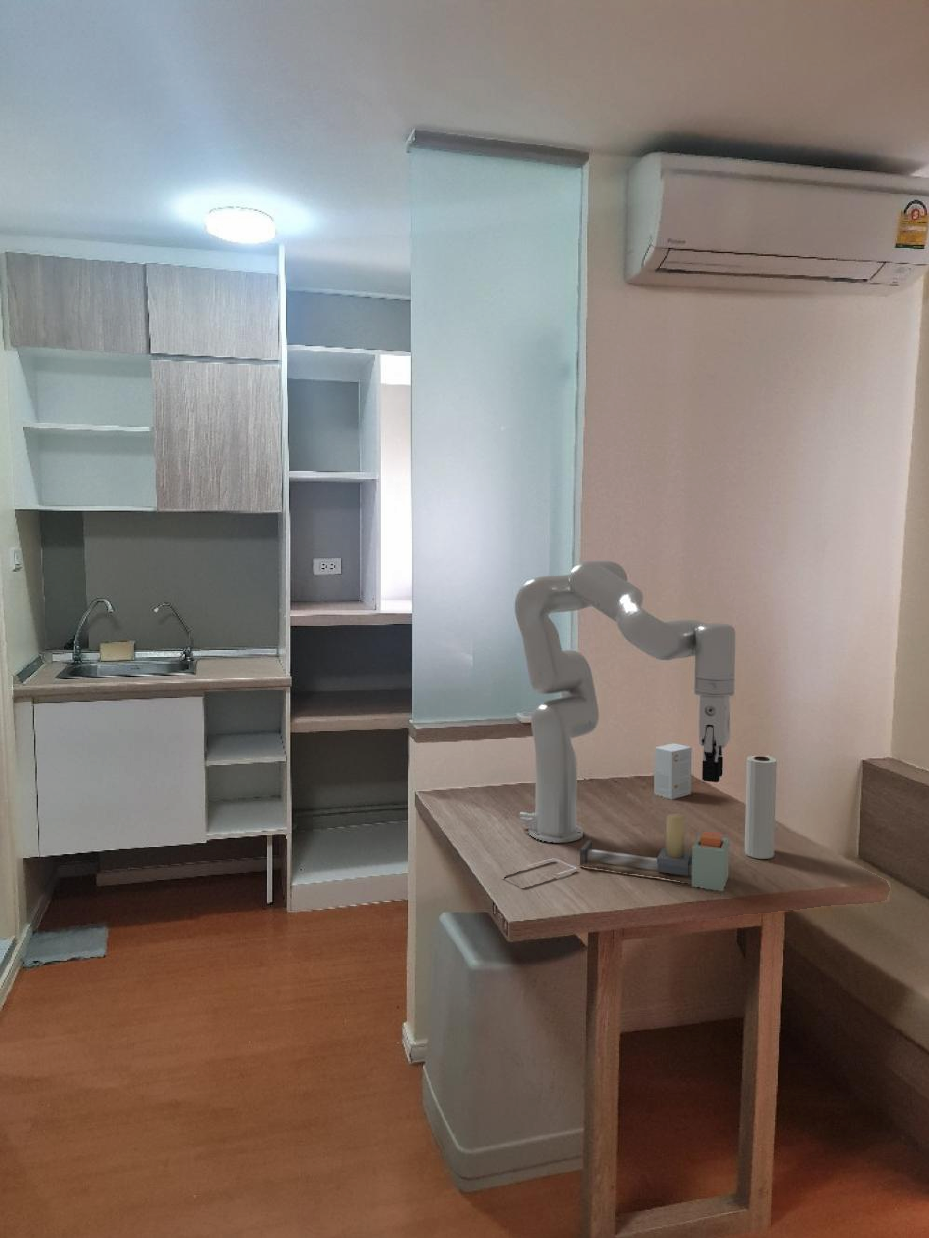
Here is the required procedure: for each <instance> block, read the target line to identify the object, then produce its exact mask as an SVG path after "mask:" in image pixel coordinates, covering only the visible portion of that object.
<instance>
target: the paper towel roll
mask: <svg viewBox="0 0 929 1238" xmlns="http://www.w3.org/2000/svg"><path fill="white" fill-rule="evenodd" d="M777 762H778V761H777V759H776V758H775V757H773V756H770V755H769V754H766V756H765V755H751V756H747V758H746V778H745V779H746V786H745V788H746V789H745V824H744V825H745V828H744V853H745V855H746V856H748V857H750V858H753V859H758V860H759V859H761V860H765V859H766V860H767V859H771V858H773V857H774V856H775V835H776V834H775V833H776V832H775V831H776V807H777V806H776V805H777V804H776V801H777V800H776V798H777V764H778V763H777Z"/></svg>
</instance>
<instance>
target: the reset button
mask: <svg viewBox="0 0 929 1238" xmlns="http://www.w3.org/2000/svg"><path fill="white" fill-rule="evenodd" d="M700 835H701V837H700V845H703V846H710V847H718V848H721V844H722V838H723V836H722V835H723V833H716V832H710V831H709V832H708V831H702V833H701V834H700Z"/></svg>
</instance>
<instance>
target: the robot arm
mask: <svg viewBox="0 0 929 1238" xmlns="http://www.w3.org/2000/svg"><path fill="white" fill-rule="evenodd" d="M643 597H644V595H643V592H642V591H641V589H640V588H639V587H637V586H636V585H634V584H632V583H631V582H629V581H628V576H627V572H626V570H625V569H624V568H623V566H622V565H620V564H619V563H617V562H615V561H611V560H591V561H583V562H580V563H578V564H576V565H575V566H574V567H573V568H572V569H571V571H570V572H569V574H568V575H567V574H566V575H543V576H538V577H533V578H531V579H529V580H527V581H526V582H524V583H523V585H522V586H520V588H519V590H518V591H517V594H516V597H515V600H514V613H515V619H516V622H517V626H518V628H519V631H520V634H521V638H522V643H523V651H524V655H525V660H526V661H525V662H526V666H527V673H528V676H529V681H530V682H529V683H530V684H531V687H532V689H533V691H535V692H536V693H538V694H540V695H552V694H553V695H554V694H559V693H561V697H559V698H555V699H551V700H550V699H549V700H546V701H544V702H542V703H540V704H539V705H538V706H537V707H536V708H535V709H534V710H533V712H532V715H531V718H530V723H531V724H530V725H531V726H530V727H531V731H532V735H533V741H534V753H535V756H534V759H535V760H534V761H535V764H534V765H535V767H534V768H535V807H534V808H535V812H533V811H532V813H530V812H529V813H528V812H527V811H526V812H525V811H520V812H519V813H518V819H519V820H520V823H522V824H529V825H530V826H529V827H528V835H529V836H530V835H531V836H532V837H534V838H536V839H535V840H537V839H539V840H538V841H540V840H542V841H541V842H544V841H547V842H546V843H551V842H553V843H554V844H565V843H572V842H575V841H578V840H580V839H581V838H582V837H583V836H584V830H583V828H582V827H581V826H579V825H577V817H578V816H577V792H578V789H577V788H578V787H577V786H578V785H577V784H578V780H577V779H578V778H577V777H578V774H577V773H578V771H577V770H578V767H577V766H578V761H577V754H576V752H575V749H574V746H573V744H572V741H571V739H574V738H577V737H583V736H585V735H587V734H590V733H592V732H593V731H594V730H595V729H596V728H597V725H598V724H599V718H600V717H599V716H600V712H599V704H598V699H597V695H596V690H595V684H594V680H593V679H594V678H593V674H592V670H591V666H590V665H589V662H588V660H587V659H586V658H585V656H584V655H583V654H581V653H580V652H578V651H577V650H572V649H567V650H566V649H565V650H563V648H562V645H561V639H560V634H559V632H558V629H557V627H556V625H555V623H554V622H553V620H552V619H551V618H550V616H549V615H550V614H552V613H566V612H575V611H580V610H583V609H587V608H590V607H592V608H594V609H596V610H597V611H599V612H601V613H602V614H604V615H605V616H606V617H608V618H609V619H611V620H612V621H614V622H615V623H616V625H617V627H618V629H619V631H620V632H621V634H622V636H623V637H624V639H626V640H627V641H628V642H629V643H630V644H631V645H632V646H634V647H636V648H637V649H638V650H640V651H642V652H643V653H645V654H647V655H648V656H650V657H652V658H655V659H656V660H661V661H670V660H676V659H682V658H683V659H684V658H688V657H694V688H693V689H694V691H693V692H694V693H693V694H694V695H696V696H699V707H698V708H699V712H698V713H699V714H698V717H699V719H698V734H699V735H698V739H699V745H701V746H702V747H703V752H702V753H703V754H702V755H703V756H702V770H701V771H702V772H701V778H702V779H701V780H702V781H704V782H709V783H710V782H711V783H718V782H720V777H722V776H723V766H724V764H723V763H724V762H723V761H724V759H723V758H724V757H723V756H722V755H723V748H725V747H726V746H727V745H728V743H729V741H730V740H731V708H730V707H731V703H730V702H731V700H730V697H734V695H735V671H736V629H735V627H734V626H732V625H731V624H728V623H715V622H709V623H706V622H704V621H703V622H702V621H699V620H692V619H680V620H678V619H677V620H671V621H663V620H661V619H659V618H657V617H655V616H654V615H652V614H651V613H649V612H648V611H646V610H644V609H643V608H642V604H643V600H644V598H643ZM531 836H530V837H531ZM532 837H531V838H532ZM534 838H533V839H534Z"/></svg>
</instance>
